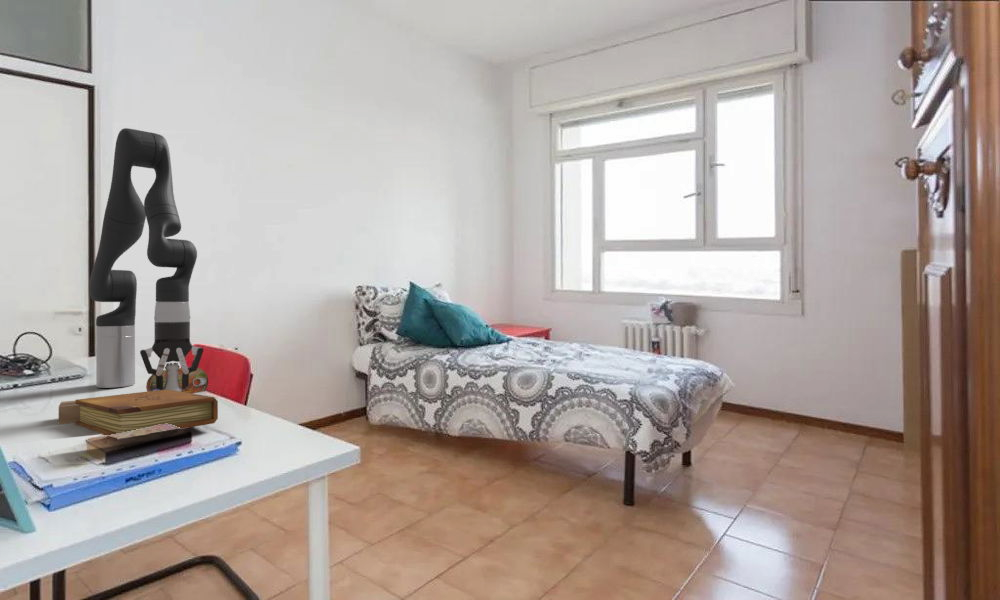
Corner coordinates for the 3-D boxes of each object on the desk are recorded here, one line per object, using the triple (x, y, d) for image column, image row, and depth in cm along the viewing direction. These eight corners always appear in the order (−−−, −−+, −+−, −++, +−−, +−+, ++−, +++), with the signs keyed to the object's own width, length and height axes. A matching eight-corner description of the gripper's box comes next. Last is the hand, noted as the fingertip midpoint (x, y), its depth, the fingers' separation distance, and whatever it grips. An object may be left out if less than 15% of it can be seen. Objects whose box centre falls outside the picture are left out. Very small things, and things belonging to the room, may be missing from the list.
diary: (217, 423, 121) (217, 396, 121) (118, 440, 106) (118, 409, 106) (169, 412, 135) (169, 388, 135) (75, 425, 120) (75, 398, 120)
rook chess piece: (173, 397, 136) (173, 364, 136) (157, 397, 137) (157, 364, 137) (186, 394, 141) (186, 362, 141) (171, 394, 142) (171, 362, 142)
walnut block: (61, 419, 126) (61, 401, 126) (104, 415, 131) (104, 398, 131) (58, 425, 120) (58, 406, 120) (104, 421, 124) (104, 402, 124)
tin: (149, 404, 144) (149, 371, 144) (144, 402, 146) (144, 370, 146) (209, 396, 157) (209, 365, 157) (203, 395, 158) (203, 365, 158)
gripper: (203, 319, 146) (203, 385, 146) (137, 320, 138) (137, 390, 138) (206, 320, 140) (206, 389, 140) (138, 321, 132) (138, 395, 132)
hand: (172, 389), depth 139 cm, fingers closed on rook chess piece, 4 cm apart
